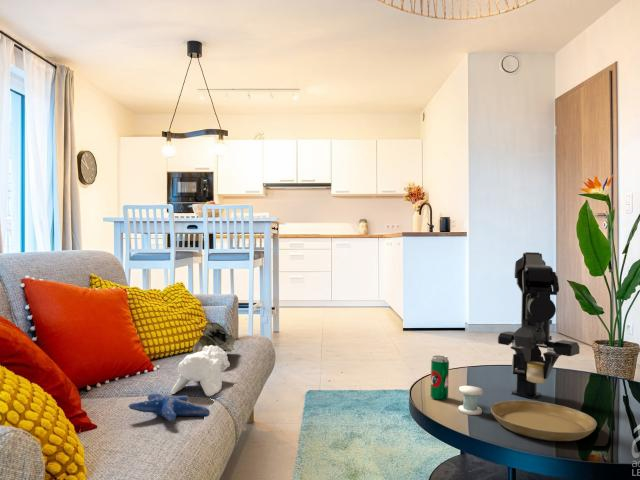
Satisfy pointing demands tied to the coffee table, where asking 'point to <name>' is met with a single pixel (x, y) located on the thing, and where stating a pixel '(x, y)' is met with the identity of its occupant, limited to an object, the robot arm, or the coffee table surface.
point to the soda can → (439, 377)
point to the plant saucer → (543, 420)
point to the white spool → (470, 400)
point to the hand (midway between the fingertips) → (536, 376)
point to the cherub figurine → (203, 369)
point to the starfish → (170, 406)
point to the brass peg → (535, 372)
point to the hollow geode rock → (214, 338)
